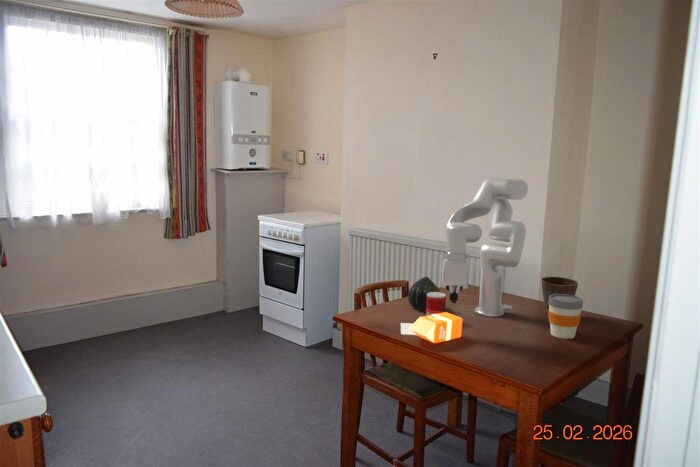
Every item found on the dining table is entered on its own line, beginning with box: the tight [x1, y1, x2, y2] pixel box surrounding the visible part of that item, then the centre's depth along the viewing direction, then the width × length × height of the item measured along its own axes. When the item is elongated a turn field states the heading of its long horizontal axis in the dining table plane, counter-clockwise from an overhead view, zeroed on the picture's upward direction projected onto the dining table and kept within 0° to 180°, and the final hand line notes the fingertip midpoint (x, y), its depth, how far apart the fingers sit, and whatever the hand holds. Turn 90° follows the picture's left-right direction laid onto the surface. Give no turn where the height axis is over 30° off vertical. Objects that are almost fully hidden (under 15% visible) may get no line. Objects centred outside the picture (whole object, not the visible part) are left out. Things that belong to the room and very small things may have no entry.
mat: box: [400, 322, 418, 336], centre depth 207 cm, size 17×13×1 cm
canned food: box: [425, 291, 447, 316], centre depth 220 cm, size 8×8×11 cm
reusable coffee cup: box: [548, 294, 584, 340], centre depth 203 cm, size 13×13×15 cm
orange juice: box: [409, 311, 463, 344], centre depth 196 cm, size 8×9×20 cm
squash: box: [407, 276, 442, 312], centre depth 235 cm, size 14×15×15 cm
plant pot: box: [541, 276, 579, 317], centre depth 226 cm, size 15×15×16 cm
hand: (453, 302), depth 203 cm, fingers closed
